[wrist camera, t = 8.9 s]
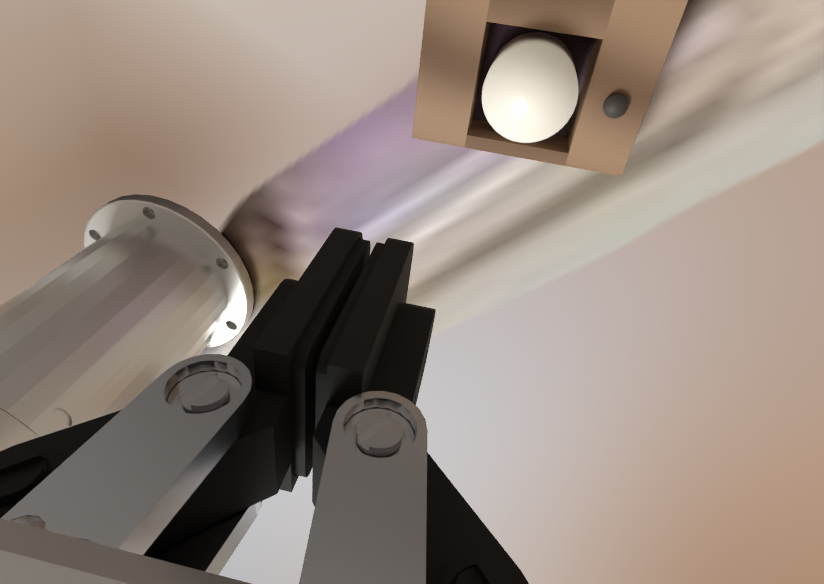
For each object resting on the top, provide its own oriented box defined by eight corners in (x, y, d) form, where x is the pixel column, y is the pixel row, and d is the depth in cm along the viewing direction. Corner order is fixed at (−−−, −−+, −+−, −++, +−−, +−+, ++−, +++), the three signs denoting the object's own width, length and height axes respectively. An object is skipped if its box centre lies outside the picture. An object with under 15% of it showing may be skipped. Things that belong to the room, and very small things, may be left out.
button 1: (561, 128, 25) (562, 150, 22) (481, 114, 25) (474, 134, 23) (586, 39, 22) (591, 52, 20) (498, 25, 23) (491, 37, 20)
